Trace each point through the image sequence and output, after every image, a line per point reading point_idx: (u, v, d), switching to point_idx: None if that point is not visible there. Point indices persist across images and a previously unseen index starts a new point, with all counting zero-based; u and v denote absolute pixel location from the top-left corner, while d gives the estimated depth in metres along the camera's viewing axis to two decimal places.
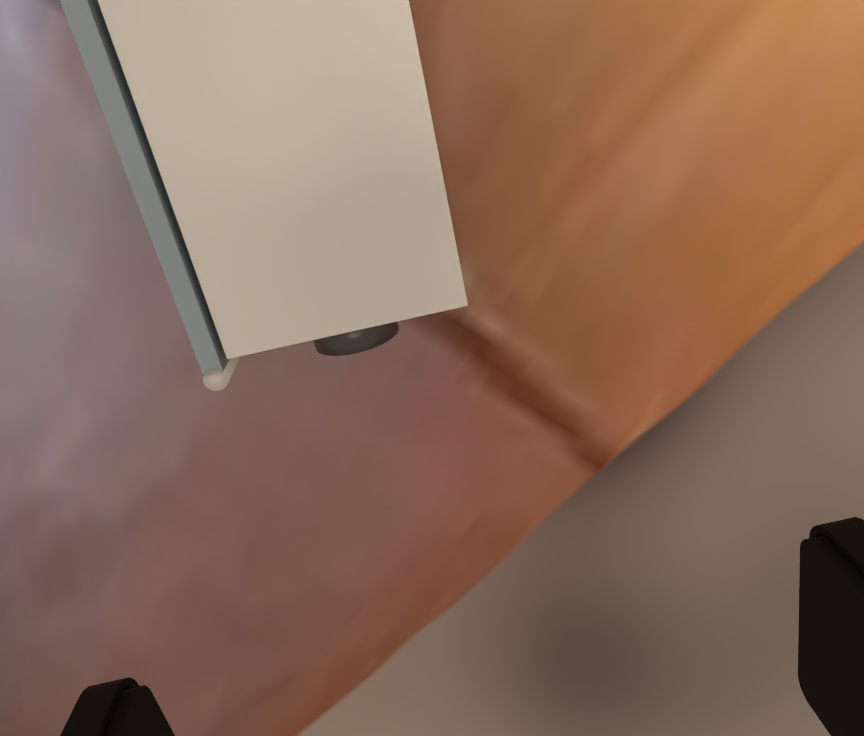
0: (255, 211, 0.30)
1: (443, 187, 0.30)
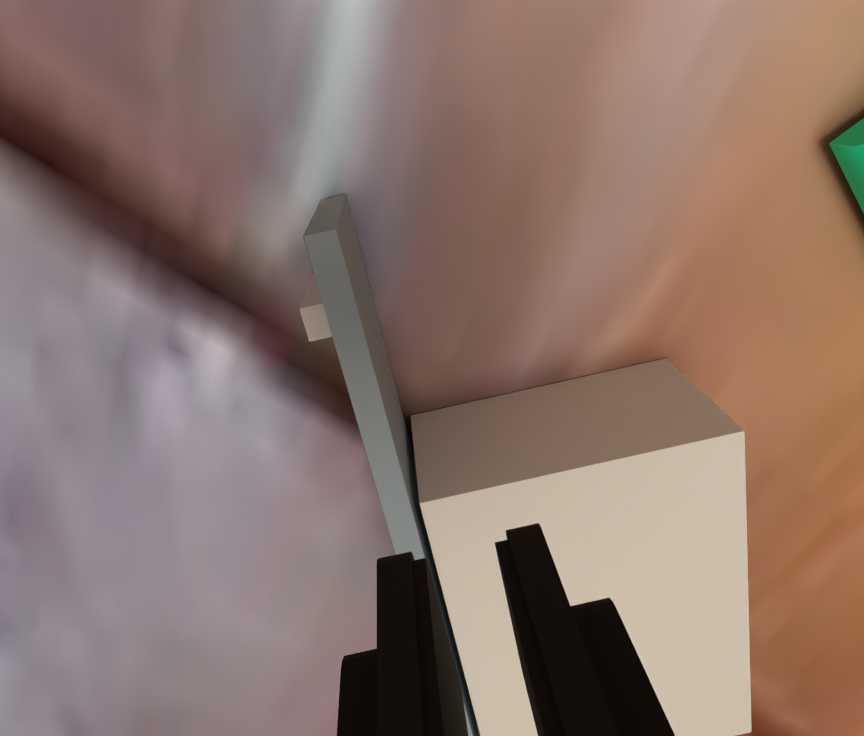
0: None
1: (747, 640, 0.28)
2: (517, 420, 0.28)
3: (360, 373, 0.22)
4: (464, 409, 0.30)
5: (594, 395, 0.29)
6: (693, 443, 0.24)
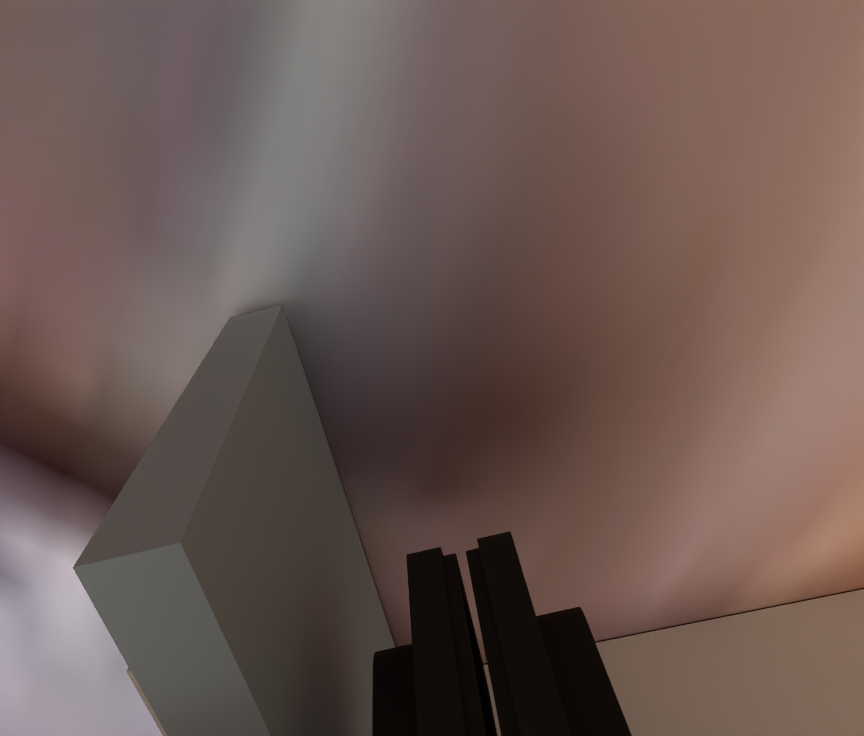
0: None
1: None
2: (659, 731, 0.14)
3: None
4: None
5: (801, 674, 0.15)
6: None
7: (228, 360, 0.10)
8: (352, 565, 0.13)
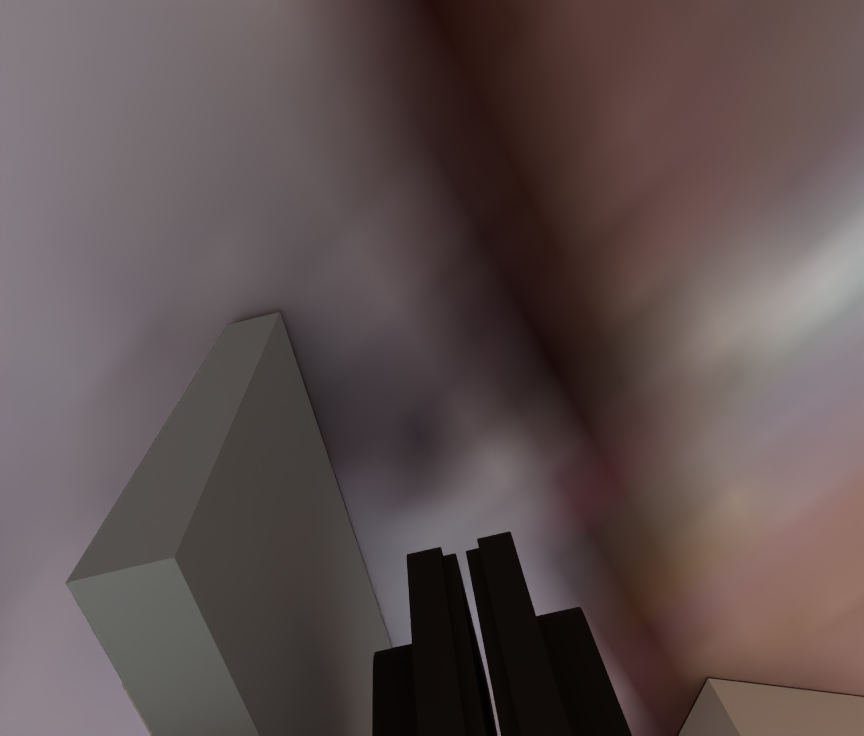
0: None
1: None
2: None
3: None
4: (805, 708, 0.17)
5: None
6: None
7: (225, 369, 0.10)
8: (350, 573, 0.13)
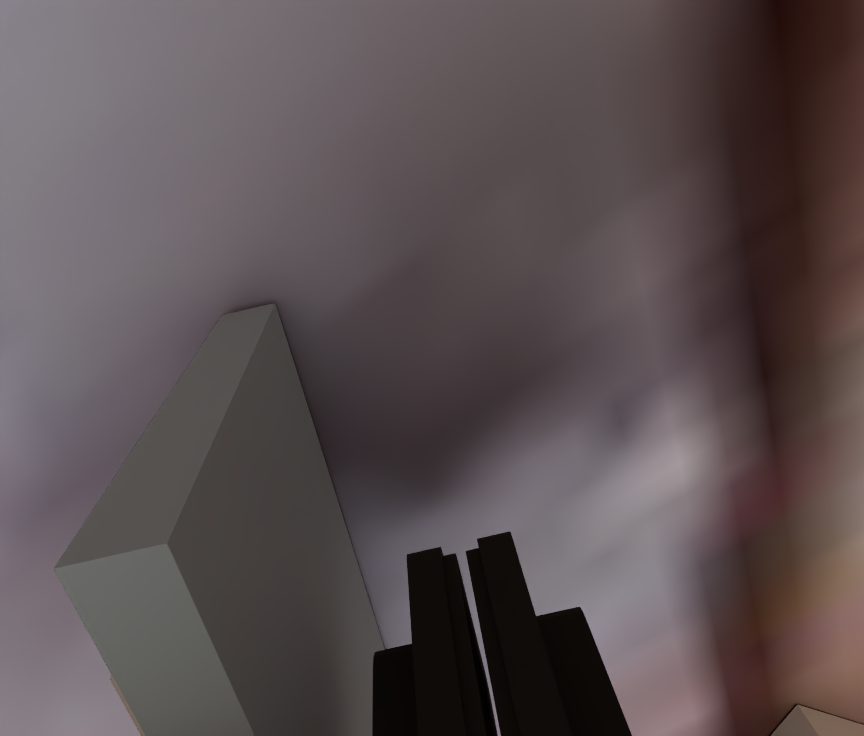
0: None
1: None
2: None
3: None
4: None
5: None
6: None
7: (219, 358, 0.10)
8: (343, 570, 0.13)
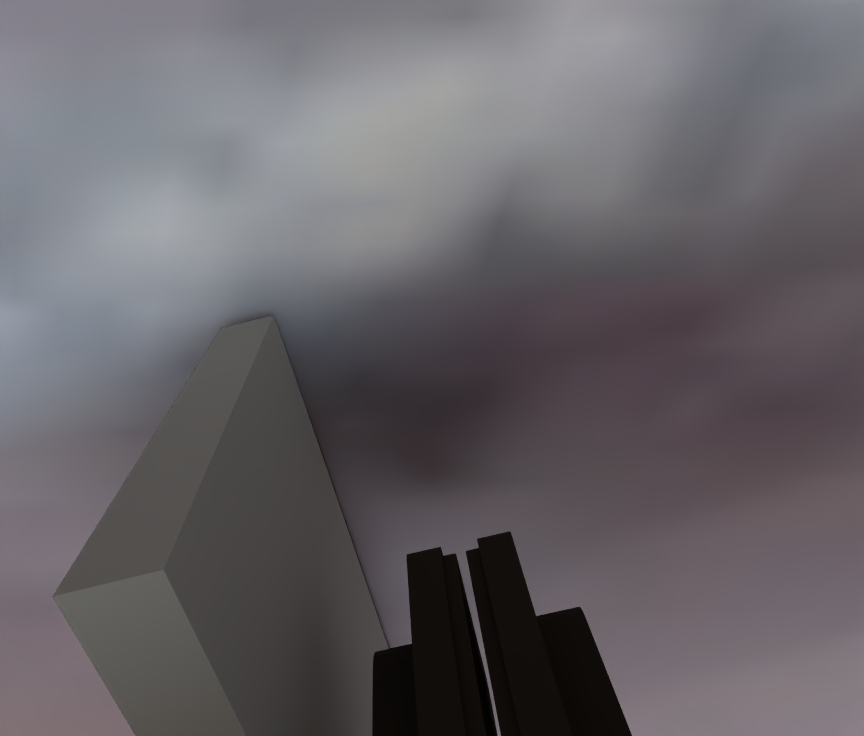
0: None
1: None
2: None
3: None
4: None
5: None
6: None
7: (217, 373, 0.10)
8: (347, 578, 0.13)
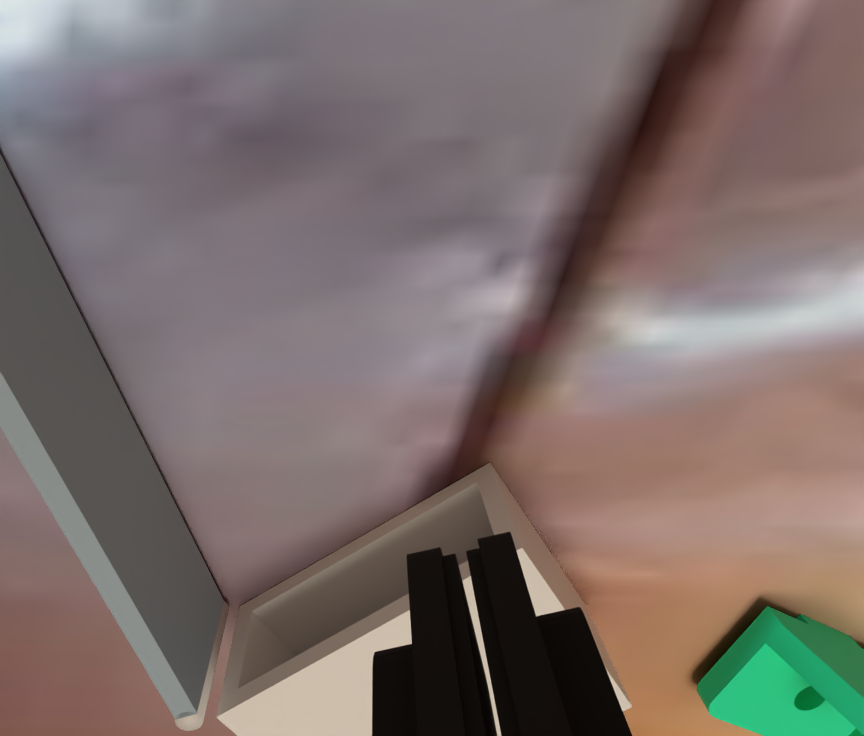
0: None
1: None
2: (541, 551, 0.34)
3: None
4: (514, 501, 0.35)
5: (567, 586, 0.36)
6: (616, 685, 0.32)
7: None
8: (13, 216, 0.26)
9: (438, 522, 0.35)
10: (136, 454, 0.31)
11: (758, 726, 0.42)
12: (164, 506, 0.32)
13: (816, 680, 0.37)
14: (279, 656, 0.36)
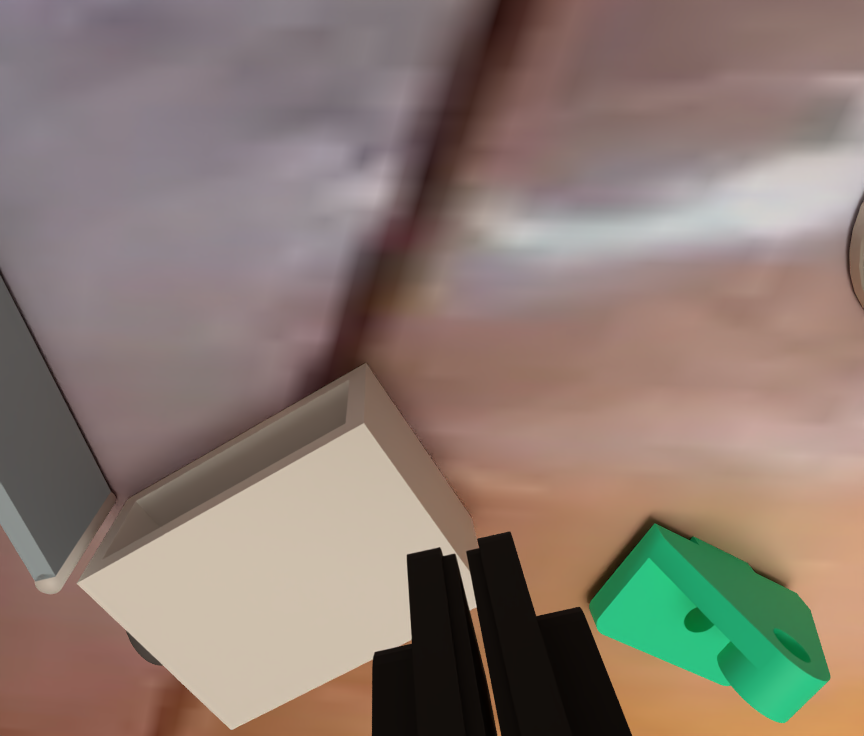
0: (234, 571, 0.32)
1: (319, 684, 0.35)
2: (411, 448, 0.35)
3: None
4: (390, 402, 0.36)
5: (442, 489, 0.37)
6: None
7: None
8: None
9: (314, 419, 0.36)
10: (12, 331, 0.32)
11: (649, 646, 0.42)
12: (42, 386, 0.33)
13: (691, 591, 0.37)
14: None
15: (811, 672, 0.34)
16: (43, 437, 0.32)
